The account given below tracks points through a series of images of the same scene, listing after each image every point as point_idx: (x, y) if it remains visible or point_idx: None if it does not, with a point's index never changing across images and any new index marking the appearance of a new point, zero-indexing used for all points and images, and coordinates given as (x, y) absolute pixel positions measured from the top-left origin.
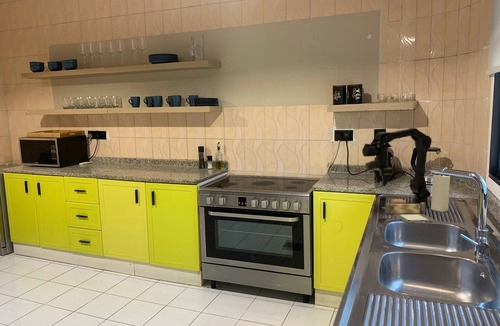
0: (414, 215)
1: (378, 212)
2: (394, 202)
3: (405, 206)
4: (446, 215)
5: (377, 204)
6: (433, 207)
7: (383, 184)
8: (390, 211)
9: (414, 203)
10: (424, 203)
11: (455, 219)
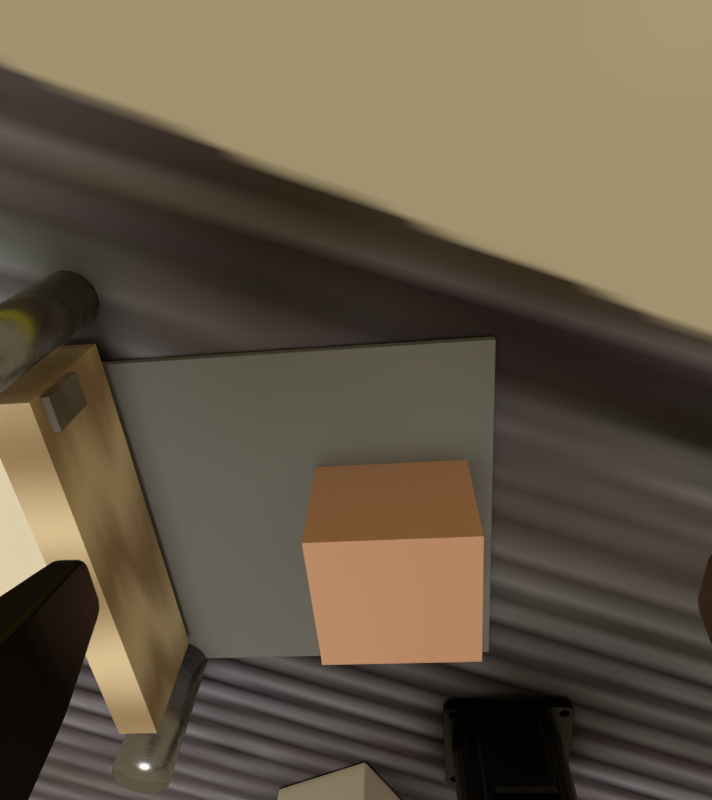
0: None
1: (177, 203)
2: (338, 527)
3: None
4: None
5: (700, 344)
6: (340, 796)
7: (2, 603)
8: (55, 355)
9: (505, 725)
10: (117, 775)
11: (45, 784)
